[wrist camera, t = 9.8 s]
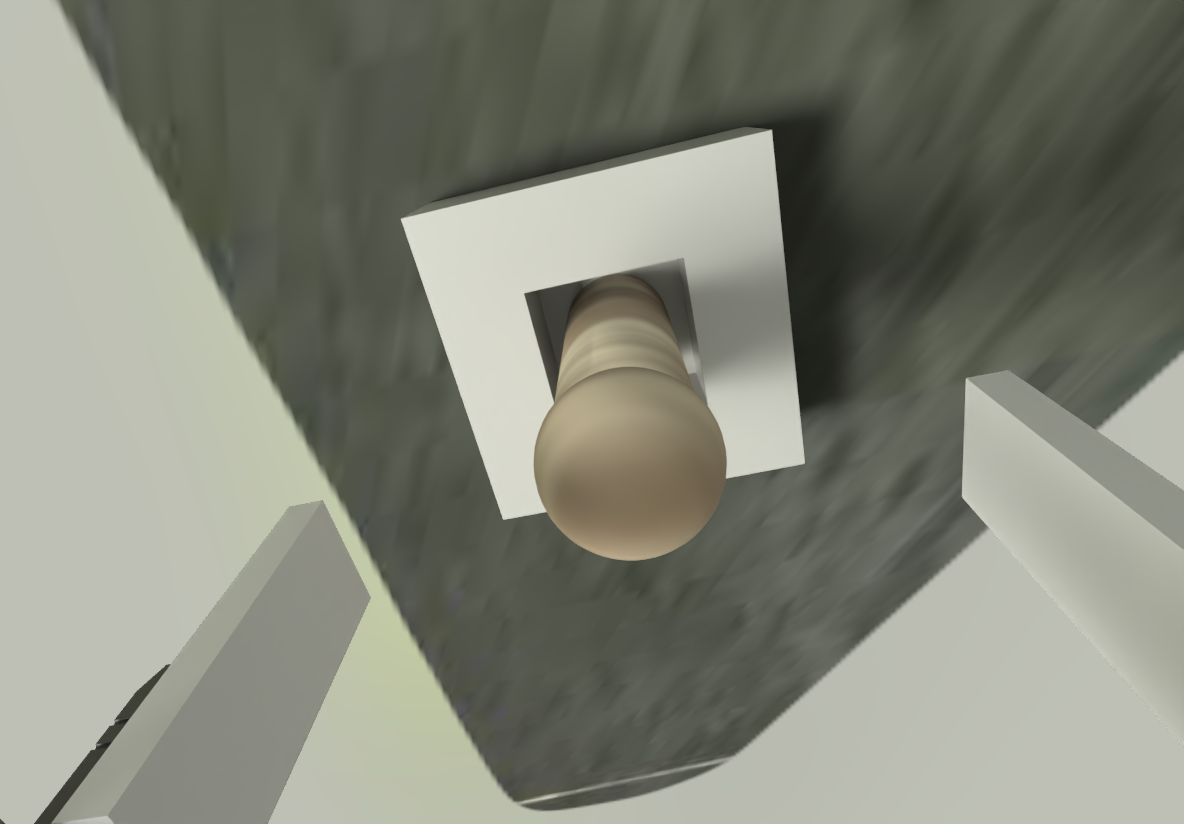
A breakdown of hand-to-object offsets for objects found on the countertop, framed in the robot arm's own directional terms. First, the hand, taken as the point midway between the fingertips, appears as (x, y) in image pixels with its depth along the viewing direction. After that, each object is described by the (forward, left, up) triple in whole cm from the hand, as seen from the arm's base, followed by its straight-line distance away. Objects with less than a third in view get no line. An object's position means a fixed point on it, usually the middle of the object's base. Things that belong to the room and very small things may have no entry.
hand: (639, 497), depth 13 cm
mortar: (0, 0, -14) cm, 14 cm away
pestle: (0, 0, -13) cm, 13 cm away
